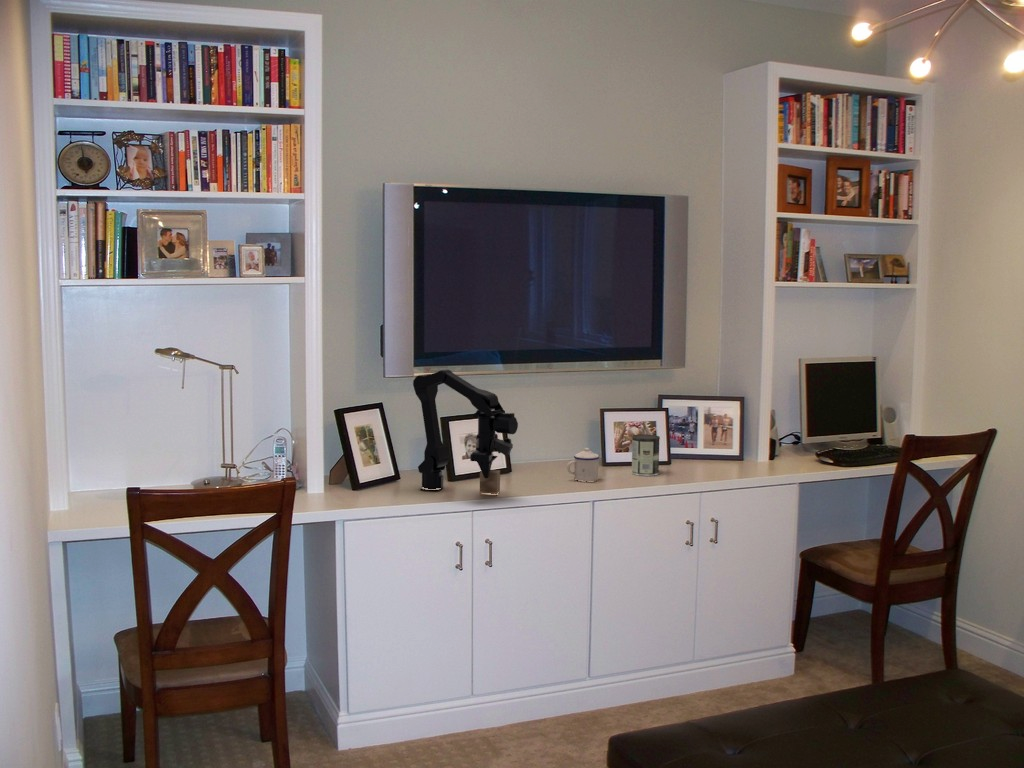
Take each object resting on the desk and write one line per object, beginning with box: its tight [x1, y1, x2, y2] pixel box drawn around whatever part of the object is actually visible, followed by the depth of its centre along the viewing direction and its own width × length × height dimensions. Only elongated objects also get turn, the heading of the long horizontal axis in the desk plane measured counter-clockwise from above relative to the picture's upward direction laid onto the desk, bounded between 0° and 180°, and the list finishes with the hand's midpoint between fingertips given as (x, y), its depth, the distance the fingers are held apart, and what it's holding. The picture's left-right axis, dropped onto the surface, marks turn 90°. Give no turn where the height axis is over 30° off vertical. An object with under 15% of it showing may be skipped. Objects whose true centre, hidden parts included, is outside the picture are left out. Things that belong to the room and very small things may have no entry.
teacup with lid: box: [566, 447, 600, 482], centre depth 334 cm, size 12×9×12 cm
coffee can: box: [631, 433, 661, 477], centre depth 347 cm, size 10×10×14 cm
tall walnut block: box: [479, 469, 501, 494], centre depth 311 cm, size 6×4×8 cm, turn 77°
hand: (486, 478), depth 307 cm, fingers closed
